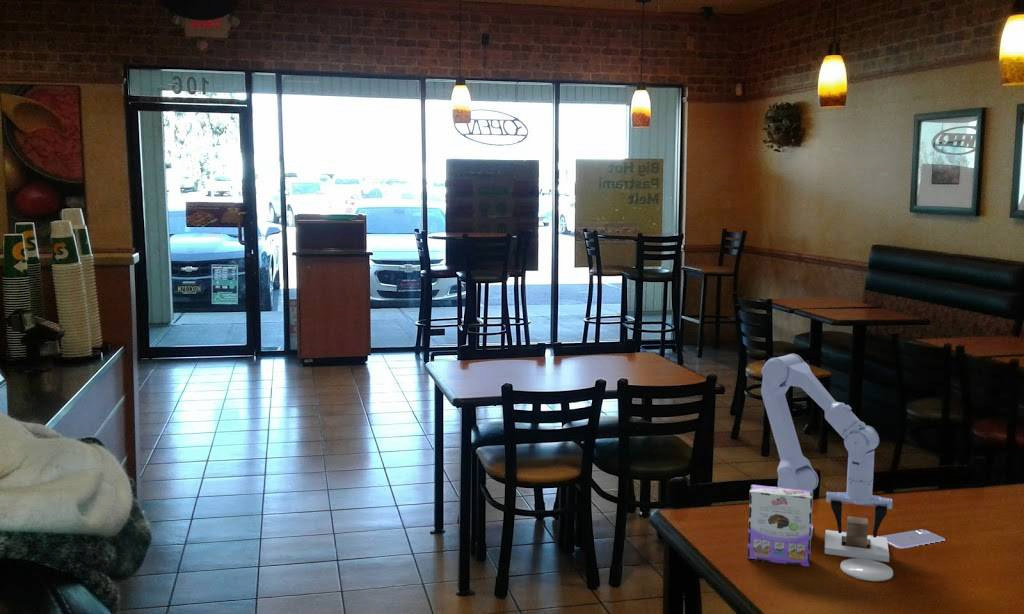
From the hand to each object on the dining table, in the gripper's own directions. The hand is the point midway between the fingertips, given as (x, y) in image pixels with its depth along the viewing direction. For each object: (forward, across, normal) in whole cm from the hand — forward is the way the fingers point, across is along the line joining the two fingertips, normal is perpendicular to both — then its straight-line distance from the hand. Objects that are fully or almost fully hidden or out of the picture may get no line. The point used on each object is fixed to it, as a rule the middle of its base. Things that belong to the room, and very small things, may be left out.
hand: (857, 533), depth 216 cm
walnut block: (+4, 0, 0) cm, 4 cm away
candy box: (+4, -17, -13) cm, 22 cm away
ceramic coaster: (+4, +2, -13) cm, 14 cm away
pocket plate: (+4, 0, 0) cm, 4 cm away
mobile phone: (+4, +13, +11) cm, 17 cm away
